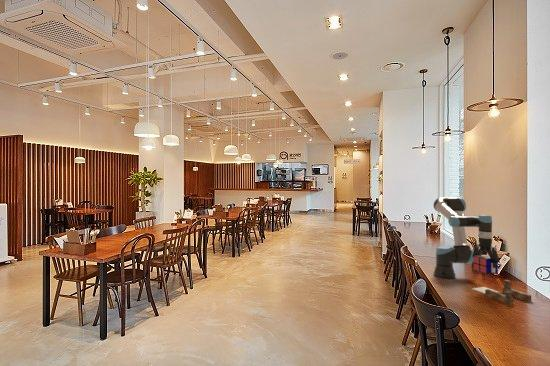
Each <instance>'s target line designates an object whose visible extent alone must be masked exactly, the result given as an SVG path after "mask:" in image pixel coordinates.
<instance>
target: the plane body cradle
mask: <svg viewBox="0 0 550 366" xmlns="http://www.w3.org/2000/svg"><path fill="white" fill-rule="evenodd" d="M489 289H490V288H489ZM489 289H487V290H485V294H484V296H485V297H487V298H490V299H493V300H495V301H498V302H501V303H504V304H507V305H509V306H513V305H514V298H516V299H519V300H522V301H524V302H528V303H530V302H532V295H531V294H529V293H526V292H522V291H520V290H516V289H514V288H512V281H511V280H509V279H504V280H503V287H502V293H501V292H500V293H497V292H494V291H491V290H489Z"/></svg>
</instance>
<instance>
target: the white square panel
mask: <svg viewBox="0 0 550 366" xmlns="http://www.w3.org/2000/svg"><path fill="white" fill-rule="evenodd" d="M487 289H489V290H491V291H494V292H497V293H500V294H501V292H500V291H497V290H495V289H492V288H489V287H486V286H481V287H473V288H471V290H472V291H475V292H477V293H480V294H483V295H485V290H487Z"/></svg>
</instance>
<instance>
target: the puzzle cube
mask: <svg viewBox="0 0 550 366" xmlns="http://www.w3.org/2000/svg"><path fill="white" fill-rule="evenodd" d="M491 263H492V260H491V258H490V257H489V255H487V254H481V255H476V256H474V261H473V271H476V272H479V273H483V274H486V275H489V274H498V273H499V262H498V263H496V268H495V272H494V273H492V272H491Z"/></svg>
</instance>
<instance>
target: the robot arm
mask: <svg viewBox="0 0 550 366" xmlns="http://www.w3.org/2000/svg"><path fill="white" fill-rule="evenodd" d="M433 209H434V210H435V211H436V212H438V213H440V214H441V215H443V216H444V217H445V218H446V219H447V220H448V224H449V226H450V227H451V228H452V233H453V239H454V240H453V242H454V245H453V246H451V245H440V246H438V247H436V249H435V260H436V261H435V267H434V270H433V276H435V277H438V278H440V279H449V280H450V279H452V280H453V279H455V278H456V273H455V270H454V266H453V264H465V265H466V264H473V263H474V256H476V255H483V253H484V252H485V253H487V254H488V255H487V256H489V257H490V258H491V260H492V263H491V272H492V273H491V274H495V273H494V272H495V268H496V263H498V264H499V263H500V259H499V255H498V252H497V247H496V246H492V244H493V218H492V215H490V214H479V215H471V216H469V215H468V216H466V215H465V216H464V215H463V214H465V211H466V209H467V204H466V201H465V199H464V198H462V197H460V196H441V197H438V198H436V199H435V200H434V202H433ZM465 228H478V243H474V249H473V248H471V246H470V245H469V244H468V241H467V234H466V229H465Z"/></svg>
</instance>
